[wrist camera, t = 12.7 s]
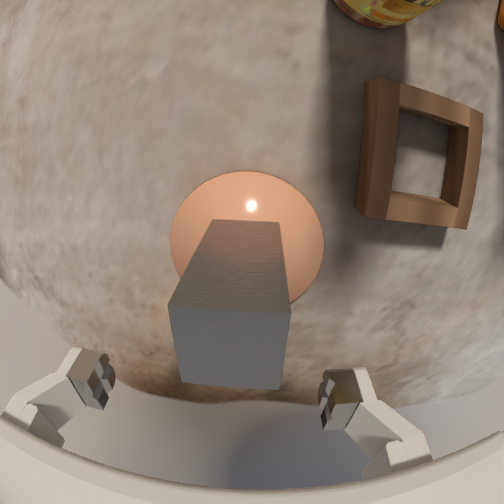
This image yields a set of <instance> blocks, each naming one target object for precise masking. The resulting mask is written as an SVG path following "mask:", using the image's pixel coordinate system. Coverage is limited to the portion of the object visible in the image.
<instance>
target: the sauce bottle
mask: <svg viewBox="0 0 504 504" xmlns="http://www.w3.org/2000/svg"><path fill="white" fill-rule="evenodd" d="M442 1H444V0H334V2H335V3H336V5H337V6H338V7H339V8H340V10H341V11H343V12H344V13H345V14H346V15H347V16H349V17H350V18H351V19H353V20H355V21H356V22H359V23H361V24H363V25H366V26H370V27H375V28H390V27H394V26H398V25H400V24H404V23H406V22H408V21H410V20H411V19H413V18H415V17H416V16H418V15H420V14H421V13H423V12H425V11H426V10H428V9H430V8H432V7H434V6H435V5H437V4H439V3H441V2H442Z"/></svg>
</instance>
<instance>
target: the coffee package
mask: <svg viewBox="0 0 504 504" xmlns="http://www.w3.org/2000/svg"><path fill="white" fill-rule="evenodd" d="M497 21H498V25H499V26H500V28H501V29H502V30H504V0H501V5H500V10H499V15H498V20H497Z"/></svg>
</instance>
